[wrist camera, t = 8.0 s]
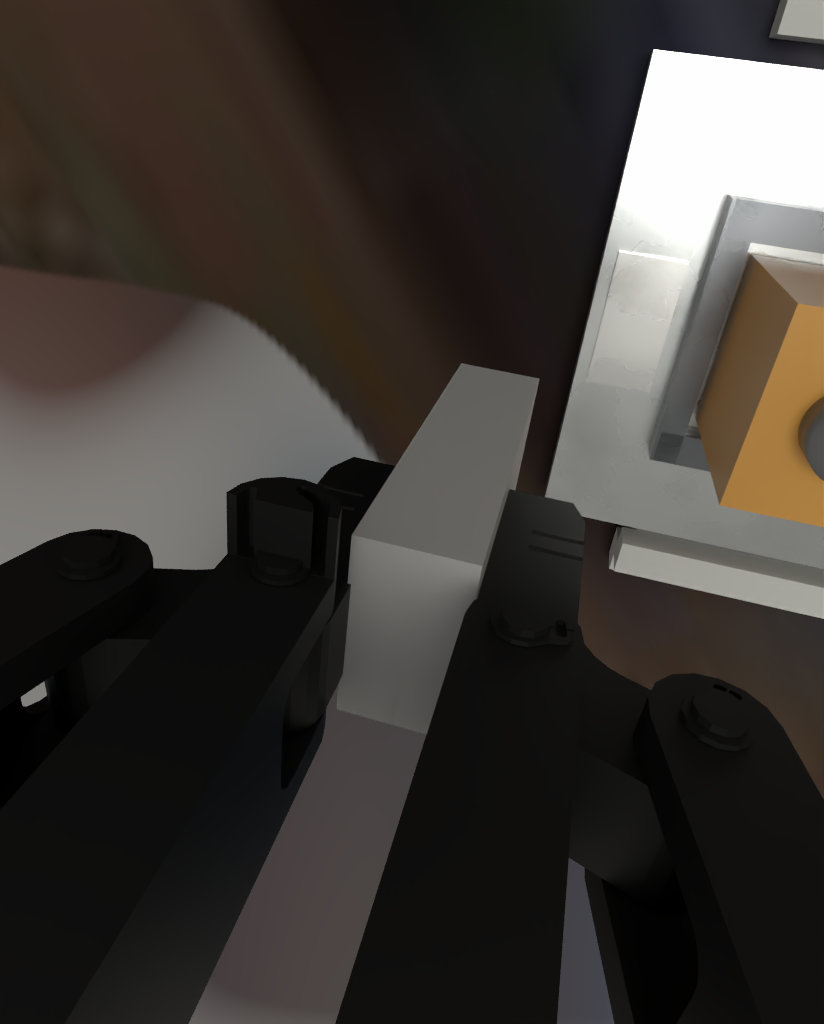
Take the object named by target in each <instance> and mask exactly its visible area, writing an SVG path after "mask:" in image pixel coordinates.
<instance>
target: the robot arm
mask: <svg viewBox="0 0 824 1024" xmlns="http://www.w3.org/2000/svg"><path fill="white" fill-rule="evenodd" d="M538 383H539V378H534V377H528V376H523V375H518V374H513V373H508V372H503V371H498V370H493V369H488V368H482V367H477V366H472V365H467V364H462V363H461V365H460V366H459V368H458V369H457V371H456V372H455V374H454V376H453V377H452V379H451V380H450V382H449V383H448V385H447V387H446V388H445V390H444V391H443V393H442V394H441V396H440V398H439V399H438V401H437V402H436V404H435V405H434V407H433V409H432V410H431V412H430V413H429V415H428V416H427V418H426V419H425V421H424V423H423V424H422V426H421V427H420V429H419V430H418V432H417V434H416V435H415V437H414V438H413V440H412V441H411V443H410V445H409V446H408V448H407V449H406V451H405V452H404V454H403V456H402V457H401V459H400V460H399V462H398V463H397V465H396V466H392V465H388V464H383V463H379V462H374V461H370V460H365V459H361V458H356V457H353V458H351V459H348V460H346V461H344V462H342V463H340V464H337V465H335V466H333V467H331V468H330V469H329V470H328V471H327V473H326V474H325V475H324V476H323V478H322V479H321V480H320V481H319V482H318V484H315V483H312V482H309V481H306V480H302V479H294V478H286V477H277V478H260V479H256V480H253V481H249V482H245V483H242V484H240V485H238V486H237V487H235V488H233V489H232V490H230V491H228V492H227V547H228V548H227V549H228V554H227V555H226V556H225V557H224V558H223V560H222V561H221V562H220V563H219V564H218V565H217V566H216V568H215V569H208V570H182V569H156V568H155V569H154V568H153V557H152V554H151V551H150V549H149V546H148V545H147V544H146V543H145V542H143V541H142V540H141V539H139V538H138V537H136V536H135V535H131V534H127V533H124V532H120V531H117V530H102V529H91V530H86V531H80V532H73V533H69V534H66V535H63V536H60V537H58V538H55V539H52V540H50V541H47V542H45V543H43V544H41V545H39V546H37V547H35V548H33V549H31V550H29V551H27V552H26V553H23V554H21V555H19V556H17V557H16V558H13V559H11V560H9V561H8V562H5V563H3V564H1V565H0V1024H188V1023H189V1021H190V1019H191V1017H192V1015H193V1013H194V1011H195V1009H196V1006H197V1004H198V1002H199V1000H200V998H201V996H202V994H203V992H204V989H205V987H206V985H207V983H208V981H209V979H210V977H211V975H212V973H213V970H214V968H215V966H216V964H217V962H218V960H219V958H220V955H221V953H222V951H223V949H224V947H225V945H226V943H227V941H228V939H229V936H230V934H231V932H232V930H233V928H234V926H235V924H236V921H237V920H238V917H239V915H240V913H241V911H242V909H243V907H244V905H245V903H246V900H247V898H248V896H249V894H250V892H251V890H252V888H253V885H254V883H255V881H256V879H257V877H258V875H259V873H260V871H261V869H262V867H263V864H264V862H265V860H266V858H267V856H268V854H269V852H270V850H271V847H272V845H273V843H274V841H275V839H276V837H277V835H278V833H279V831H280V828H281V826H282V824H283V822H284V820H285V818H286V816H287V814H288V811H289V809H290V807H291V805H292V803H293V801H294V799H295V797H296V794H297V792H298V790H299V788H300V786H301V784H302V782H303V779H304V778H305V775H306V773H307V771H308V769H309V767H310V765H311V763H312V760H313V759H314V756H315V754H316V752H317V750H318V748H319V746H320V744H321V742H322V738H323V733H324V728H325V719H326V707H327V705H328V703H329V701H330V699H331V697H332V695H333V693H334V691H335V689H336V687H337V685H338V683H339V686H338V698H337V709H338V710H341V711H345V712H348V713H352V714H355V715H359V716H363V717H366V718H370V719H374V720H377V721H381V722H384V723H388V724H392V725H395V726H398V727H402V728H405V729H409V730H413V731H416V732H420V733H423V734H427V735H426V739H425V741H424V744H423V748H422V751H421V754H420V757H419V760H418V763H417V767H416V770H415V773H414V776H413V779H412V783H411V786H410V789H409V792H408V795H407V799H406V802H405V805H404V808H403V811H402V814H401V817H400V821H399V824H398V827H397V830H396V833H395V836H394V839H393V843H392V846H391V849H390V852H389V855H388V858H387V862H386V865H385V869H384V871H383V874H382V877H381V881H380V884H379V887H378V890H377V893H376V897H375V900H374V903H373V906H372V909H371V913H370V916H369V919H368V922H367V925H366V928H365V932H364V934H363V938H362V941H361V944H360V947H359V950H358V953H357V957H356V960H355V963H354V966H353V969H352V972H351V976H350V979H349V982H348V986H347V988H346V992H345V995H344V998H343V1001H342V1004H341V1007H340V1010H339V1014H338V1017H337V1020H336V1024H557V1012H558V998H559V984H560V970H561V956H562V942H563V928H564V914H565V900H566V887H567V872H568V859H569V858H571V859H572V860H574V861H575V862H577V863H579V864H580V865H582V866H583V867H585V882H586V887H587V892H588V897H589V902H590V907H591V912H592V916H593V921H594V926H595V931H596V936H597V940H598V945H599V950H600V955H601V960H602V965H603V970H604V975H605V979H606V984H607V989H608V994H609V999H610V1003H611V1008H612V1014H613V1019H614V1023H615V1024H824V800H823V798H822V796H821V794H820V793H819V791H818V789H817V787H816V785H815V784H814V782H813V780H812V778H811V777H810V775H809V773H808V771H807V770H806V768H805V766H804V764H803V762H802V761H801V759H800V757H799V755H798V754H797V752H796V750H795V748H794V747H793V745H792V743H791V741H790V739H789V738H788V736H787V734H786V732H785V731H784V729H783V727H782V726H781V725H780V723H779V722H778V721H777V720H776V718H775V717H774V716H773V715H772V713H771V712H770V711H769V710H768V708H767V707H765V706H764V705H763V704H761V703H760V702H759V701H758V700H756V699H755V698H754V697H752V696H751V695H750V694H748V693H747V692H746V691H744V690H742V689H740V688H738V687H735V686H733V685H731V684H729V683H727V682H725V681H723V680H721V679H717V678H713V677H708V676H704V675H700V674H695V673H691V674H672V675H670V676H668V677H666V678H664V679H662V680H660V681H658V682H656V683H655V685H654V687H653V688H652V690H650V689H648V688H646V687H643V686H641V685H639V684H637V683H635V682H633V681H631V680H629V679H627V678H625V677H624V676H622V675H620V674H618V673H617V672H615V671H613V670H612V669H610V668H608V667H607V666H606V665H605V664H603V663H602V662H601V661H600V660H599V659H597V658H596V657H595V656H594V655H593V654H592V653H591V651H590V650H589V649H588V648H587V647H586V645H585V644H584V640H583V636H582V632H581V627H580V626H579V625H578V609H579V597H580V585H581V573H582V558H583V548H584V545H583V544H584V536H585V524H586V522H585V521H584V519H583V518H582V516H581V515H580V513H579V511H578V510H577V508H576V507H575V505H574V503H570V502H566V501H561V500H556V499H552V498H547V497H543V496H538V495H534V494H529V493H525V492H520V491H516V490H515V489H516V484H517V480H518V475H519V471H520V466H521V461H522V457H523V452H524V448H525V443H526V438H527V434H528V429H529V425H530V420H531V415H532V411H533V406H534V402H535V397H536V392H537V388H538ZM43 681H45V687H46V692H47V696H46V697H44V698H43V699H42V700H40V701H38V702H36V703H34V704H32V705H29V706H27V707H24V706H22V702H21V698H20V697H21V696H23V695H24V694H26V693H27V692H28V691H30V690H32V689H33V688H35V687H36V686H37V685H39V684H40V683H42V682H43Z"/></svg>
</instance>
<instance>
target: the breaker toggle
mask: <svg viewBox="0 0 824 1024" xmlns="http://www.w3.org/2000/svg"><path fill="white" fill-rule="evenodd" d="M695 418H696V422H697V425H698V429H699V433H700V436H701V440H702V444H703V447H704V451H705V455H706V458H707V462H708V466H709V469H710V473H711V477H712V480H713V484H714V488H715V491H716V495H717V499H718V502H719V505H720V506H725V507H729V508H734V509H739V510H744V511H749V512H753V513H758V514H763V515H768V516H772V517H777V518H782V519H787V520H791V521H796V522H801V523H806V524H810V525H815V526H820V527H824V266H821V265H815V264H808V263H802V262H796V261H790V260H783V259H777V258H771V257H765V256H758V255H752V254H751V256H750V259H749V262H748V265H747V268H746V271H745V274H744V277H743V279H742V282H741V285H740V288H739V291H738V294H737V297H736V300H735V303H734V306H733V309H732V311H731V314H730V317H729V320H728V323H727V326H726V329H725V332H724V335H723V338H722V340H721V343H720V346H719V349H718V352H717V355H716V358H715V361H714V364H713V367H712V369H711V372H710V375H709V378H708V381H707V384H706V387H705V390H704V393H703V396H702V399H701V401H700V404H699V407H698V410H697V413H696V416H695Z"/></svg>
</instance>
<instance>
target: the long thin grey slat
mask: <svg viewBox="0 0 824 1024" xmlns="http://www.w3.org/2000/svg"><path fill="white" fill-rule="evenodd" d="M609 569H613V570H614V571H616V572H621V573H625V574H630V575H634V576H638V577H643V578H647V579H652V580H656V581H660V582H665V583H669V584H673V585H678V586H682V587H687V588H691V589H695V590H700V591H704V592H709V593H713V594H717V595H722V596H726V597H731V598H735V599H739V600H744V601H748V602H753V603H757V604H761V605H766V606H770V607H775V608H779V609H783V610H788V611H792V612H796V613H801V614H805V615H810V616H814V617H818V618H823V619H824V569H821V568H817V567H812V566H807V565H803V564H798V563H794V562H789V561H785V560H780V559H775V558H771V557H766V556H762V555H757V554H752V553H748V552H743V551H739V550H734V549H729V548H725V547H720V546H716V545H711V544H707V543H702V542H697V541H693V540H688V539H684V538H679V537H674V536H670V535H665V534H661V533H656V532H652V531H647V530H642V529H638V528H633V527H632V529H631V528H626V527H622V528H621V527H617V528H616V532H615V535H614V538H613V541H612V544H611V548H610V551H609Z"/></svg>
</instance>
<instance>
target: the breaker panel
mask: <svg viewBox="0 0 824 1024" xmlns="http://www.w3.org/2000/svg"><path fill="white" fill-rule="evenodd" d="M751 254H752V255H758V256H765V257H771V258H777V259H783V260H790V261H796V262H802V263H808V264H815V265H821V266H824V70H818V69H810V68H802V67H793V66H785V65H777V64H769V63H761V62H752V61H744V60H736V59H728V58H720V57H711V56H703V55H695V54H687V53H679V52H670V51H662V50H653V51H652V53H651V54H650V57H649V62H648V66H647V70H646V74H645V78H644V82H643V86H642V91H641V95H640V99H639V103H638V107H637V111H636V115H635V119H634V124H633V128H632V132H631V136H630V140H629V144H628V148H627V153H626V157H625V161H624V165H623V169H622V173H621V177H620V182H619V186H618V190H617V194H616V198H615V202H614V206H613V211H612V215H611V219H610V223H609V227H608V231H607V235H606V240H605V244H604V248H603V252H602V256H601V260H600V264H599V268H598V273H597V277H596V281H595V285H594V289H593V293H592V297H591V302H590V306H589V310H588V314H587V318H586V322H585V326H584V331H583V335H582V339H581V343H580V347H579V351H578V355H577V360H576V364H575V368H574V372H573V376H572V380H571V384H570V389H569V393H568V397H567V401H566V405H565V409H564V413H563V417H562V422H561V426H560V430H559V434H558V438H557V442H556V446H555V451H554V455H553V459H552V463H551V467H550V471H549V475H548V480H547V484H546V490H545V496H544V497H547V498H552V499H556V500H561V501H566V502H570V503H574V505H575V507H576V508H577V510H578V511H579V513H580V515H581V516H583V517H587V518H592V519H596V520H601V521H606V522H610V523H615V524H619V525H624V526H629V527H633V528H638V529H642V530H647V531H652V532H656V533H661V534H665V535H670V536H674V537H679V538H684V539H688V540H693V541H697V542H702V543H707V544H711V545H716V546H720V547H725V548H729V549H734V550H739V551H743V552H748V553H752V554H757V555H762V556H766V557H771V558H775V559H780V560H785V561H789V562H794V563H798V564H803V565H807V566H812V567H817V568H821V569H824V527H820V526H815V525H810V524H806V523H801V522H796V521H791V520H787V519H782V518H777V517H772V516H768V515H763V514H758V513H753V512H749V511H744V510H739V509H734V508H729V507H725V506H720V505H719V502H718V499H717V495H716V491H715V488H714V484H713V480H712V477H711V473H710V469H709V466H708V462H707V458H706V455H705V451H704V447H703V444H702V440H701V436H700V433H699V429H698V425H697V422H696V418H695V416H696V413H697V410H698V407H699V404H700V401H701V399H702V396H703V393H704V390H705V387H706V384H707V381H708V378H709V375H710V372H711V369H712V367H713V364H714V361H715V358H716V355H717V352H718V349H719V346H720V343H721V340H722V338H723V335H724V332H725V329H726V326H727V323H728V320H729V317H730V314H731V311H732V309H733V306H734V303H735V300H736V297H737V294H738V291H739V288H740V285H741V282H742V279H743V277H744V274H745V271H746V268H747V265H748V262H749V259H750V256H751Z"/></svg>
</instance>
